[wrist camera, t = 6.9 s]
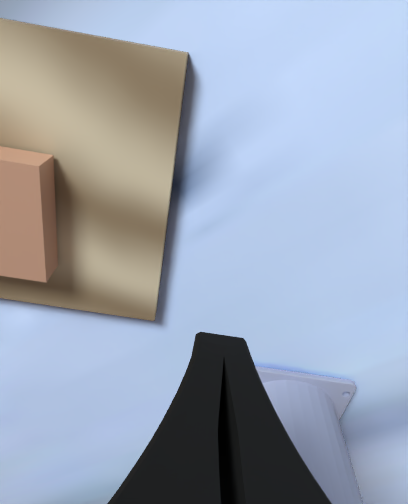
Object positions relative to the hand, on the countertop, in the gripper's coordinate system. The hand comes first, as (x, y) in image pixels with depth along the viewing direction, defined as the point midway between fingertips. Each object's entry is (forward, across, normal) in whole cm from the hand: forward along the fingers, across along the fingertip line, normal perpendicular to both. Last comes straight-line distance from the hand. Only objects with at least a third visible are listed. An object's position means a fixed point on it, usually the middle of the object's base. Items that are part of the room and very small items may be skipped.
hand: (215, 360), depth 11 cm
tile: (+8, +8, +1) cm, 11 cm away
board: (+10, +9, 0) cm, 13 cm away
